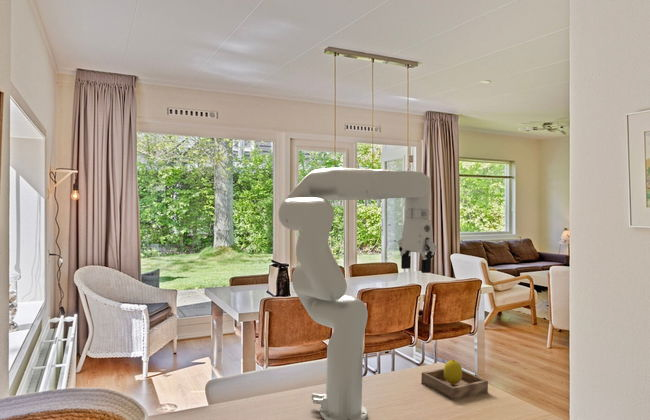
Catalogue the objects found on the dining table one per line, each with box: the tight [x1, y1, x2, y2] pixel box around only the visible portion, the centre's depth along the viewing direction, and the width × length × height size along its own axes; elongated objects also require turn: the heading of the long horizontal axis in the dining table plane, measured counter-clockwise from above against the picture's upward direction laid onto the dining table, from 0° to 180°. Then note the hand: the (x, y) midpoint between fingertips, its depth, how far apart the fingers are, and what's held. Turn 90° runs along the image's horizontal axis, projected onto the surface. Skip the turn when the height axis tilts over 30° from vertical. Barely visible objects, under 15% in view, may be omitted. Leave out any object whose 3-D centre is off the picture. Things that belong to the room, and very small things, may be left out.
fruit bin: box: [420, 367, 489, 401], centre depth 139 cm, size 14×14×4 cm
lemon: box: [444, 359, 463, 385], centre depth 139 cm, size 6×6×8 cm
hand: (415, 270), depth 138 cm, fingers open, 9 cm apart
